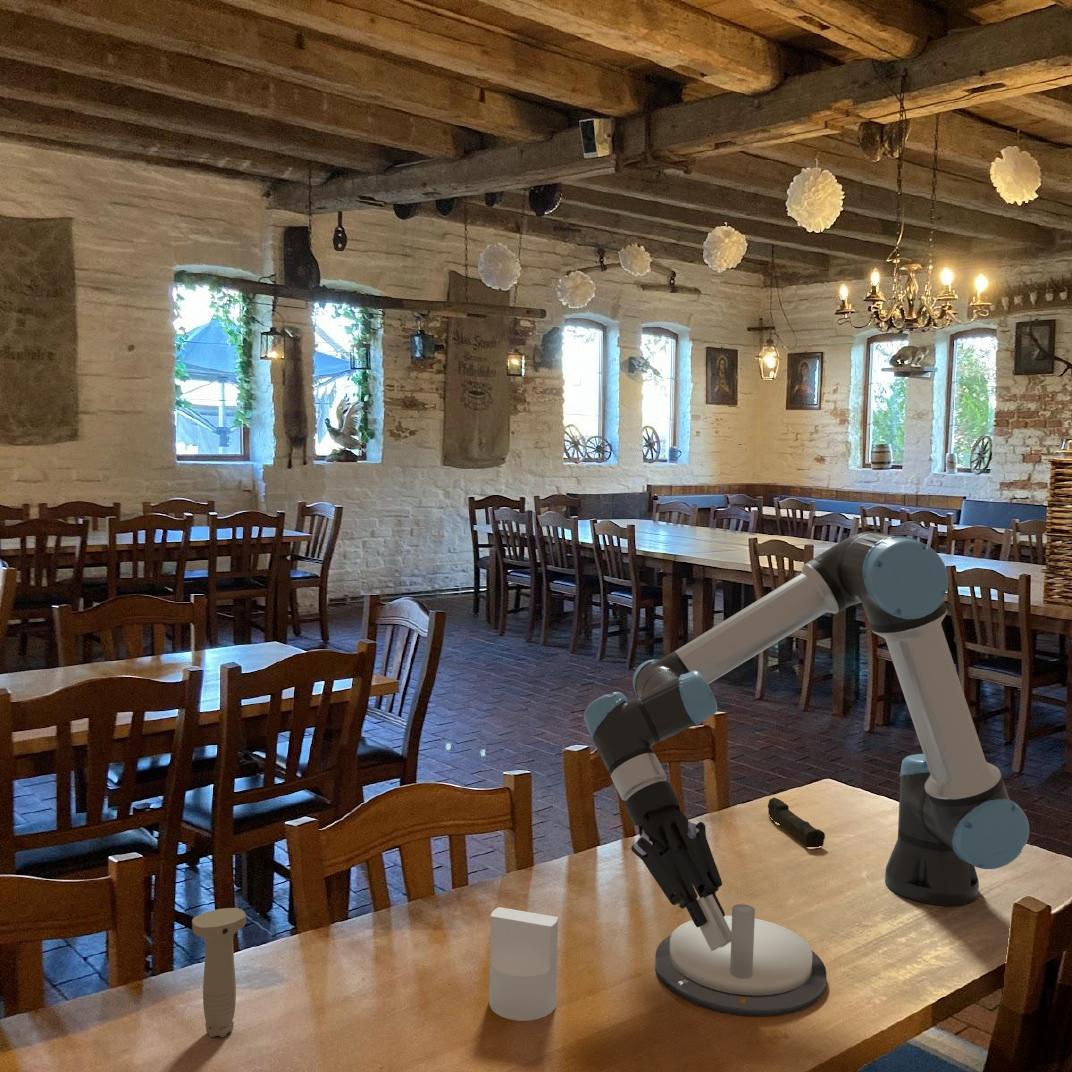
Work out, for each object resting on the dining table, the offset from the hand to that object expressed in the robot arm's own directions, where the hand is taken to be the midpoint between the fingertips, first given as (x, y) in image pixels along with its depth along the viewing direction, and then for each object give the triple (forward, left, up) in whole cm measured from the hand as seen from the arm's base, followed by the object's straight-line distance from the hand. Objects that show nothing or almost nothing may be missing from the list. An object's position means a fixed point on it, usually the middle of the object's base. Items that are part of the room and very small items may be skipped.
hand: (722, 944), depth 146 cm
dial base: (-4, -6, -7) cm, 10 cm away
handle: (+67, +2, -7) cm, 67 cm away
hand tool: (-33, -59, -7) cm, 68 cm away
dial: (-4, -6, -5) cm, 9 cm away
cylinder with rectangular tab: (+28, -1, -7) cm, 28 cm away
